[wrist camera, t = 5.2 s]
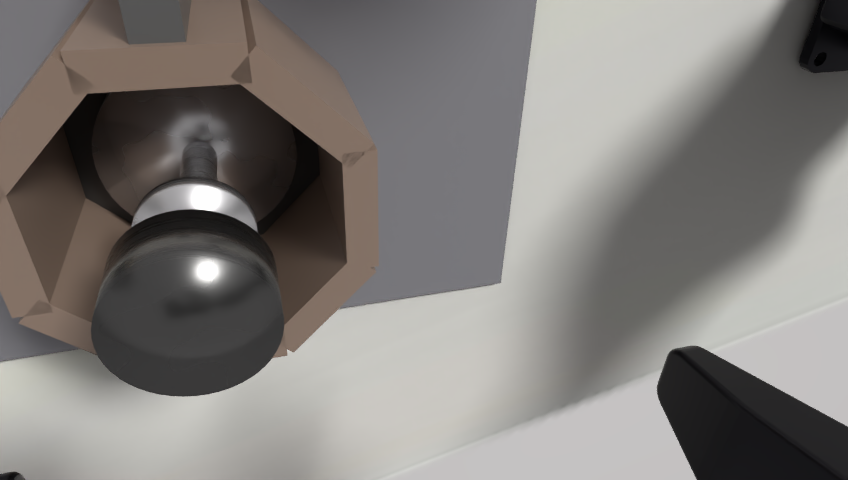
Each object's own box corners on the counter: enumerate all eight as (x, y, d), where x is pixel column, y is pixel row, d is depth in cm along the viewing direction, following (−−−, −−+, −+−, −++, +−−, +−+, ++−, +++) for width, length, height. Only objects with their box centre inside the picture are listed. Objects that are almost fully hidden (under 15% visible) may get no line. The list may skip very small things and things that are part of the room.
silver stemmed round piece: (284, 47, 16) (330, 188, 10) (300, 212, 19) (343, 403, 13) (71, 57, 15) (-32, 227, 9) (122, 233, 18) (73, 456, 12)
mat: (549, -140, 16) (554, -139, 16) (497, 278, 24) (500, 283, 24) (-432, -167, 11) (-445, -167, 11) (-96, 370, 19) (-100, 376, 19)
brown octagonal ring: (331, -122, 15) (374, -101, 11) (347, 240, 21) (379, 339, 17) (-59, -128, 13) (-182, -107, 9) (82, 275, 19) (48, 396, 15)
